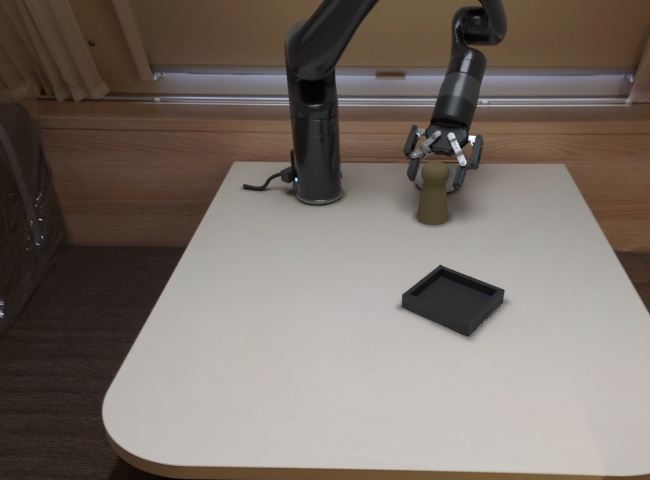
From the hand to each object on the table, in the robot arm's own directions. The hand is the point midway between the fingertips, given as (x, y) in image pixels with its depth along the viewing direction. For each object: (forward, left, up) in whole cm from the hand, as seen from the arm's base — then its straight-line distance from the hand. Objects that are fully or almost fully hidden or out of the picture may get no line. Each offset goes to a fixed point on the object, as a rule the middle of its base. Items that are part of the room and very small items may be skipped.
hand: (433, 183), depth 106 cm
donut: (-7, +14, -8) cm, 17 cm away
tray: (+18, -21, -7) cm, 29 cm away
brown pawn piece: (0, +1, -8) cm, 8 cm away
